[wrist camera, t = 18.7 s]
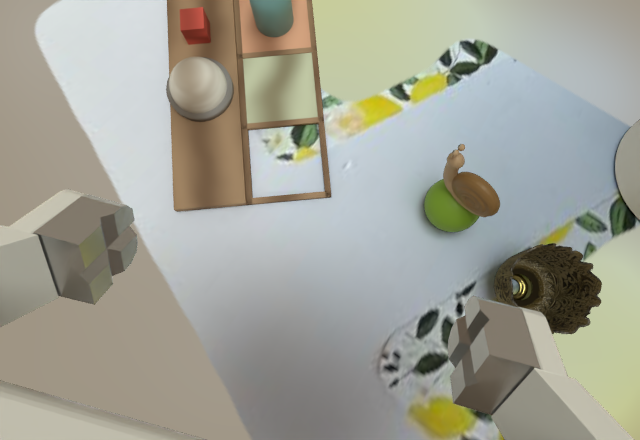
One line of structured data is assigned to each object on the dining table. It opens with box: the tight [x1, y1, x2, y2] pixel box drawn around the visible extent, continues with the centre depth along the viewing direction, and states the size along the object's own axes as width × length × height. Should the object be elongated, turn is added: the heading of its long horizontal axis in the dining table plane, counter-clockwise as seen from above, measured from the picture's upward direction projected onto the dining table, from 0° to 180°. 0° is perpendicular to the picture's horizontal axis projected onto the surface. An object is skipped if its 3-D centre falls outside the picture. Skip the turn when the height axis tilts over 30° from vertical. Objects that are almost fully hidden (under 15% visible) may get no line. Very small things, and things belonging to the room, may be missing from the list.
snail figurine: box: [424, 144, 500, 232], centre depth 35 cm, size 5×6×12 cm
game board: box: [166, 0, 331, 211], centre depth 42 cm, size 16×26×6 cm, turn 5°
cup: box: [494, 243, 602, 334], centre depth 36 cm, size 8×7×8 cm
